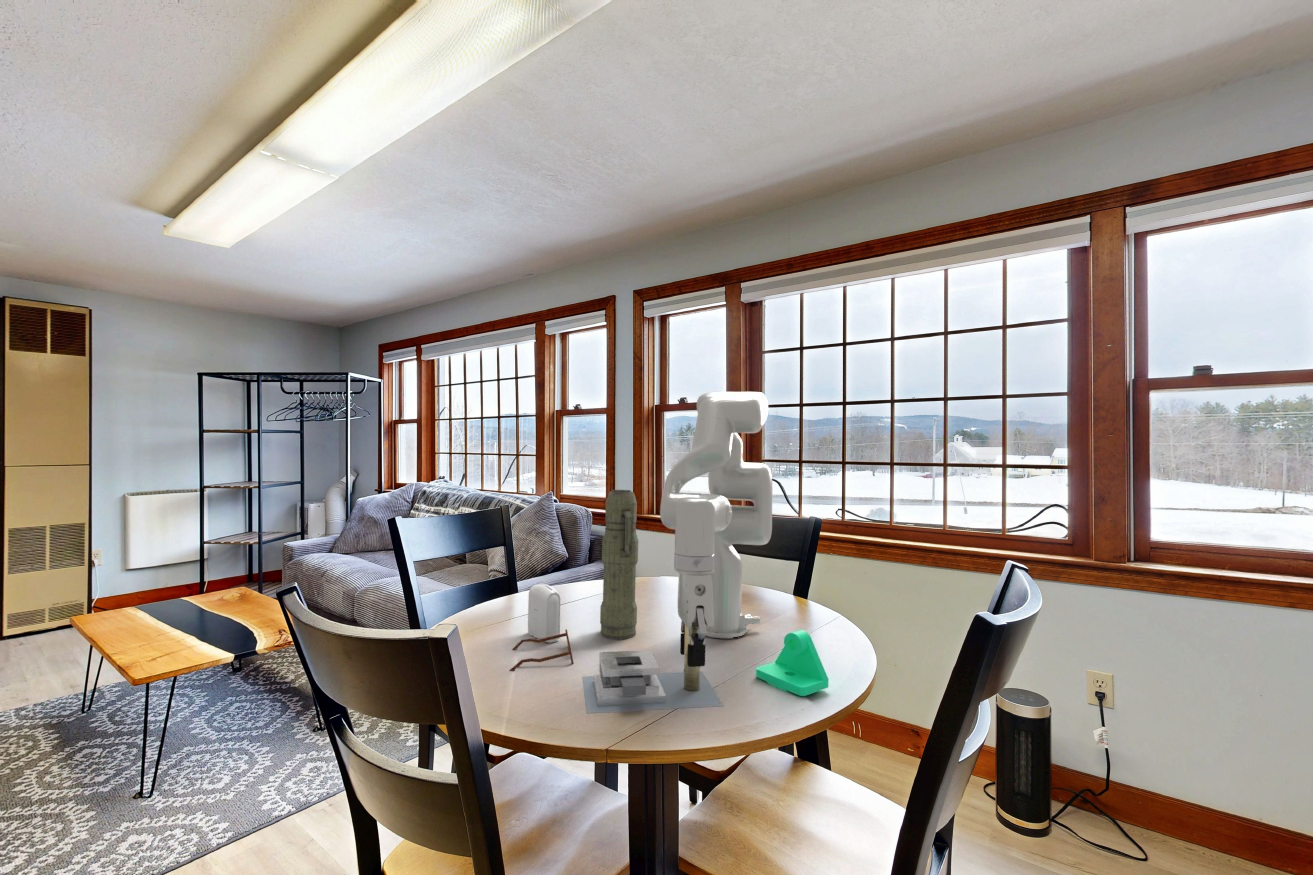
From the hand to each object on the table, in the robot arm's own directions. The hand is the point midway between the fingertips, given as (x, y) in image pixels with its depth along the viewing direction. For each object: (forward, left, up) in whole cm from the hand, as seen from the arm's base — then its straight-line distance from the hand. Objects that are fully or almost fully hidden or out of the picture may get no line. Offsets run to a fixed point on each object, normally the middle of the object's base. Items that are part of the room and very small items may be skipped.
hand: (692, 658), depth 110 cm
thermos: (+10, -36, -6) cm, 38 cm away
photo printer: (+28, -35, -6) cm, 45 cm away
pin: (0, 0, -5) cm, 5 cm away
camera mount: (-20, 0, -6) cm, 21 cm away
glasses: (+28, -21, -7) cm, 36 cm away
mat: (+8, 0, -6) cm, 10 cm away
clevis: (+12, +1, -5) cm, 13 cm away
